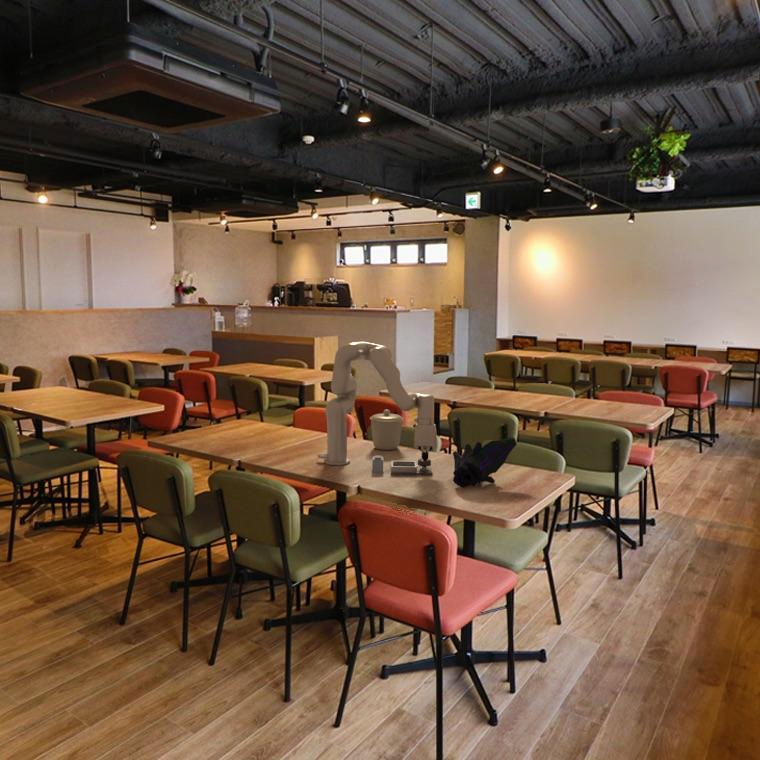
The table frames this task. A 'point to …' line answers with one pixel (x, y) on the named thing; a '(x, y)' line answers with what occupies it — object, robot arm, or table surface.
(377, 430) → the canister
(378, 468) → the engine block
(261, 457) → the table surface
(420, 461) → the wheel
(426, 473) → the chassis
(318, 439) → the table surface
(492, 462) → the decorative plant
